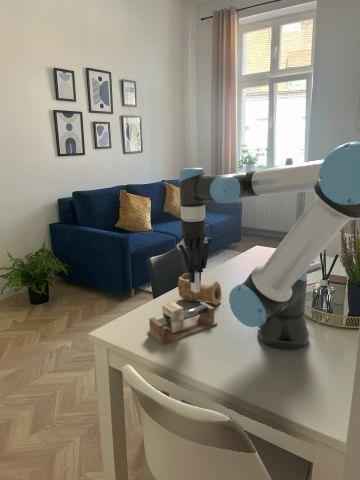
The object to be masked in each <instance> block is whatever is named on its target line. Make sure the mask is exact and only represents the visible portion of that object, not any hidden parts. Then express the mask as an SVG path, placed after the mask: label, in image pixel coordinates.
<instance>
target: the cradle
mask: <svg viewBox="0 0 360 480" xmlns="http://www.w3.org/2000/svg"><path fill="white" fill-rule="evenodd" d="M202 305H206V307H207V312H206V313H203V314H200V315H197V316H194V317H191V318H188V319H185V320H184V329H183V330H180V331H177V332H175V333H172V332H171V331H170V330H168V329H167V328H166V327H164V325H163V324H162V323H161V322H159V321H158V319H156V318H155V317H151V318H149V329H148V330H147V333H148V334H149V336H151V337H152V338H153V339H154V340H156V341H157V342H158V343H159V344H160V345H162V346H164V345H167V344H170V343H172V342H175V341H177V340H180V339H183V338H186V337H188V336H191V335H194V334H196V333H199V332H202V331H204V330H207V329H210V328H212V327H215V326H218V322H216V321H215V307H214V306H211V305H210V304H208V303H206V301H200V302H199V306H202Z"/></svg>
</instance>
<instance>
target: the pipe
mask: <svg viewBox="0 0 360 480" xmlns="http://www.w3.org/2000/svg"><path fill="white" fill-rule="evenodd" d="M201 282H202V280H201V281H200V292H198V293H195V292H193V291H191V282H189V273H188V272H184V273H183V274H182V275H180V276H179V277H178V282H177V289H178V295H179V297H180V298H181V299H183V300H185V301H186V302H197V301H200V302H209V303H211V304H212V305H215V306H217V305H219V304H220V302H221V300H222V287H221V283H220V282H218V281H215V282H213V283H211V284H210V285H206V284H202V283H201Z"/></svg>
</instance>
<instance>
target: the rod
mask: <svg viewBox="0 0 360 480" xmlns="http://www.w3.org/2000/svg"><path fill="white" fill-rule="evenodd" d="M206 312H207V307H206V305H202V306H200V305H199V306H195V307H193V308H190V309H186V310H183V320H185V319H188V318H191V317H194V316H197V315H200V314H203V313H206ZM157 320H158V321H159V322H161V323H162V324H163V325H164V326H167V325H170V324H171V317H169V316H167V317H164V318H163V317H161V318H158V319H157Z"/></svg>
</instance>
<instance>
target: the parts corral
mask: <svg viewBox="0 0 360 480" xmlns="http://www.w3.org/2000/svg"><path fill="white" fill-rule="evenodd" d="M321 267H322V262H321V261H317V260H316V259H315V260H314V261H313V262H312V264H311V265H310V266H309V267H308V268H307V269H306V272H307V273H308V272H312V271H314V270H318V269H320V268H321Z"/></svg>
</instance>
